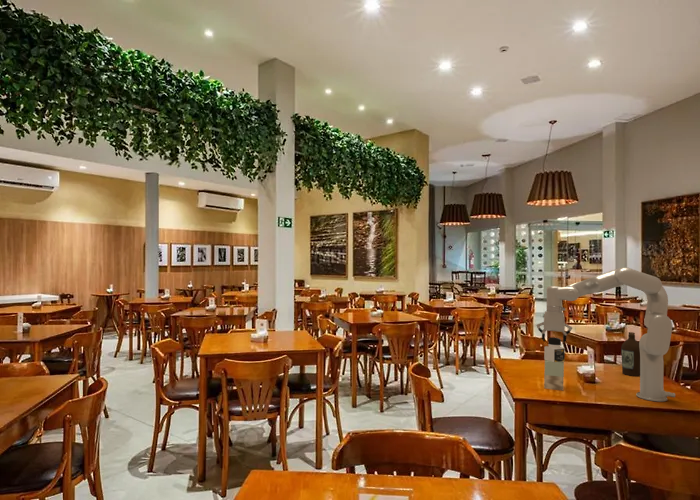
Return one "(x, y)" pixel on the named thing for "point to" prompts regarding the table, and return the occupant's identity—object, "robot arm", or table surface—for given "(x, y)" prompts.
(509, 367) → the table surface
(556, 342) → the medicine bottle
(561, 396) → the table surface
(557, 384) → the bottom block
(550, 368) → the top block
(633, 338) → the olive oil
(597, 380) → the table surface
